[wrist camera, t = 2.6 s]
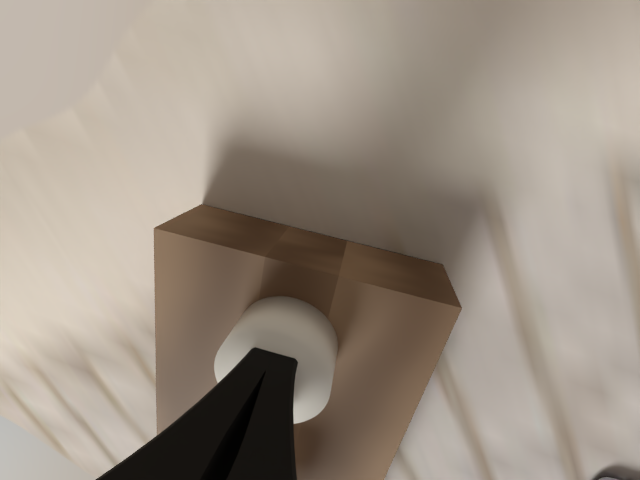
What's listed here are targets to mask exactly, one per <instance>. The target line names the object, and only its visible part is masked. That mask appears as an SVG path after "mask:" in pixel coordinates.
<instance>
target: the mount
mask: <svg viewBox="0 0 640 480" xmlns="http://www.w3.org/2000/svg"><path fill="white" fill-rule="evenodd" d="M154 269H155V338H156V406H157V435H158V434H160V433H161V432H162V431H163V430H165V429H166V428H167V427H169V426H170V425H171V424H172V423H173V422H175V421H176V420H177V419H178V418H179V417H181V416H182V415H183V414H184V413H185V412H186V411H188V410H189V409H190V408H191V407H192V406H194V405H195V404H196V403H197V402H198V401H199V400H200V399H202V398H203V397H204V396H205V395H206V394H207V393H208V392H209V391H210V390H211V389H212V388H213V387H215V386H216V385H217V384H218V383H217V380H216V377H215V372H214V362H215V357H216V354H217V352H218V350H219V348H220V347H221V345H222V344H223V342H224V341H225V339H226V338H227V336H228V335H229V334H230V332H231V331H232V329H233V328H234V326H235V325H236V323H237V322H238V320H239V319H240V317H241V316H242V314H243V313H244V312H245V310H246V309H247V308H248V307H249V306H250V305H252V304H253V303H255V302H256V301H259V300H261V299H264V298H267V297H273V296H286V297H292V298H296V299H299V300H302V301H304V302H307V303H309V304H310V305H312V306H314V307H315V308H317V309H318V310H319V311H321V312H322V313H323V314H324V315H325V316H326V318H327V319H328V320H329V321H330V323H331V324H332V326H333V328H334V330H335V332H336V336H337V340H338V351H337V357H336V363H335V369H334V375H333V381H332V387H331V393H330V398H329V400H328V403H327V404H326V406H325V408H324V409H323V410H322V411H321V412H320V413H319V414H318V415H316V416H315V417H313V418H311V419H309V420H307V421H305V422H301V423H296V424H294V448H295V462H296V474H297V480H384V478H385V476H386V474H387V472H388V469H389V467H390V465H391V463H392V461H393V458H394V456H395V454H396V452H397V450H398V447H399V445H400V443H401V441H402V439H403V436H404V434H405V432H406V430H407V428H408V425H409V423H410V421H411V419H412V417H413V414H414V412H415V410H416V408H417V406H418V403H419V401H420V399H421V397H422V395H423V393H424V390H425V388H426V386H427V384H428V382H429V379H430V377H431V375H432V373H433V371H434V368H435V366H436V364H437V362H438V360H439V357H440V355H441V353H442V351H443V349H444V346H445V344H446V342H447V340H448V338H449V335H450V333H451V331H452V329H453V327H454V324H455V322H456V320H457V318H458V316H459V313H460V311H461V309H462V307H461V305H460V303H459V301H458V298H457V296H456V294H455V291H454V289H453V287H452V285H451V282H450V280H449V278H448V276H447V273H446V271H445V269H444V267H443V265H442V264H438V263H434V262H430V261H426V260H422V259H418V258H414V257H410V256H406V255H402V254H398V253H394V252H390V251H386V250H382V249H378V248H374V247H370V246H366V245H362V244H358V243H354V242H350V241H346V240H342V239H338V238H334V237H330V236H326V235H322V234H318V233H314V232H310V231H306V230H302V229H298V228H294V227H290V226H286V225H282V224H278V223H274V222H270V221H266V220H262V219H258V218H254V217H250V216H246V215H242V214H238V213H234V212H230V211H226V210H222V209H218V208H214V207H210V206H206V205H202V204H201V205H199V206H197V207H195V208H193V209H191V210H189V211H187V212H185V213H183V214H181V215H179V216H177V217H175V218H173V219H171V220H169V221H167V222H165V223H163V224H161V225H159V226H157V227H155V228H154Z"/></svg>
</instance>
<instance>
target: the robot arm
mask: <svg viewBox="0 0 640 480" xmlns="http://www.w3.org/2000/svg"><path fill="white" fill-rule="evenodd" d="M297 365H298V362H297V360H296V359H295V358H292V357H288V356H285V355H281V354H277V353H274V352H270V351H267V350H263V349H260V348H256V347H254V348H252V349H251V350H250V351H249V352H248V353H247V354H246V355H245V356H244V358H243V359H242V360H241V361H240V362H239V363H238V364H237V365H236V366H235V367H234V368H233V369H232V370H231V371H230V372H229V373H228V374H227V375H226V376H225V377H224V378H223V379H222V380H221V381H220V382H219V383H218V384H217V385H216V386H215V387H213V388H212V389H211V390H210V391H209V392H208V393H207V394H206V395H205V396H204V397H203V398H202V399H200V400H199V401H198V402H197V403H196V404H195V405H194V406H192V407H191V408H190V409H189V410H188V411H186V412H185V413H184V414H183V415H182V416H181V417H179V418H178V419H177V420H176V421H175V422H173V423H172V424H171V425H170V426H169V427H167V428H166V429H165V430H163V431H162V432H161V433H160V434H158V435H157V436H156V437H155V438H153V439H152V440H151V441H149V442H148V443H147V444H145V445H144V446H143V447H141V448H140V449H139V450H137V451H136V452H135V453H133V454H132V455H131V456H129V457H128V458H126V459H125V460H124V461H122V462H121V463H119V464H118V465H116V466H115V467H113V468H112V469H111V470H109V471H108V472H106V473H105V474H103V475H102V476H100V477H99V478H98V479H96V480H297V474H296V462H295V448H294V417H293V403H294V384H295V375H296V370H297ZM599 480H618V479H615V478H610V477H603V478H600V479H599Z"/></svg>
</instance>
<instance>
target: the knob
mask: <svg viewBox="0 0 640 480" xmlns="http://www.w3.org/2000/svg"><path fill="white" fill-rule="evenodd" d="M254 347H256V348H260V349H263V350H267V351H270V352H274V353H277V354H281V355H285V356H288V357H292V358H295V359H296V360H297V362H298V365H297V370H296V375H295V384H294V403H293V417H294V424H296V423H301V422H305V421H307V420H309V419H311V418H313V417H315V416H316V415H318V414H319V413H320V412H321V411H322V410H323V409H324V408H325V406H326V404H327V403H328V400H329V398H330V393H331V387H332V381H333V375H334V369H335V363H336V357H337V351H338V340H337V336H336V332H335V330H334V328H333V326H332V324H331V323H330V321H329V320H328V319H327V318H326V316H325V315H324V314H323V313H322V312H321V311H319V310H318V309H317V308H315V307H314V306H312V305H310V304H309V303H307V302H304V301H302V300H299V299H296V298H292V297H286V296H273V297H267V298H264V299H261V300H259V301H256V302H255V303H253V304H252V305H250V306H249V307H248V308H247V309H246V310H245V312H244V313H243V314H242V316H241V317H240V319H239V320H238V322H237V323H236V325H235V326H234V328H233V329H232V331H231V332H230V334H229V335H228V336H227V338H226V339H225V341H224V342H223V344H222V345H221V347H220V348H219V350H218V352H217V354H216V357H215V362H214V372H215V377H216V380H217V383H219V382H220V381H221V380H222V379H223V378H224V377H225V376H226V375H227V374H228V373H229V372H230V371H231V370H232V369H233V368H234V367H235V366H236V365H237V364H238V363H239V362H240V361H241V360H242V359H243V358H244V356H245V355H246V354H247V353H248V352H249V351H250V350H251V349H252V348H254Z"/></svg>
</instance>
